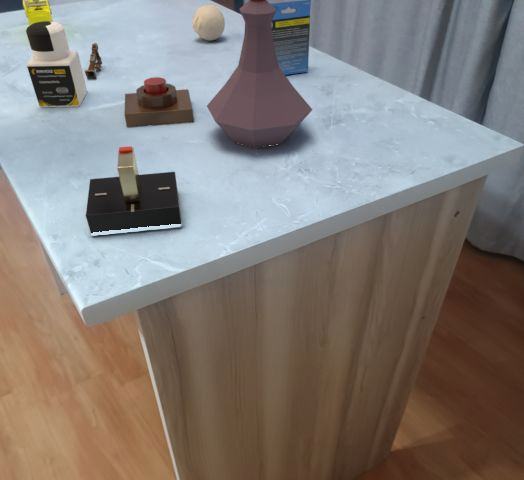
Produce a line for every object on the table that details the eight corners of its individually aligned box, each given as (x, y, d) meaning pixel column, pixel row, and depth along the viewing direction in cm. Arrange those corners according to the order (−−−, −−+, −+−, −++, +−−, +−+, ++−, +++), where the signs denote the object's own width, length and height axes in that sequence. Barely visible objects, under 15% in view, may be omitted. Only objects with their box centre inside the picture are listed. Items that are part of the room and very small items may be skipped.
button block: (127, 127, 85) (122, 102, 82) (127, 106, 91) (122, 82, 88) (193, 122, 86) (191, 97, 83) (189, 102, 92) (187, 78, 89)
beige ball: (189, 37, 119) (186, 3, 114) (219, 33, 121) (217, 0, 116) (199, 46, 115) (195, 11, 110) (229, 41, 116) (228, 7, 112)
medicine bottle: (39, 108, 91) (15, 30, 82) (49, 93, 96) (27, 18, 87) (80, 107, 91) (60, 30, 82) (88, 92, 96) (70, 17, 87)
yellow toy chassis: (30, 25, 127) (18, -16, 121) (54, 23, 128) (43, -18, 122) (33, 44, 116) (20, 0, 110) (59, 41, 118) (47, -2, 112)
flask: (217, 113, 89) (207, -29, 74) (313, 116, 87) (321, -28, 73) (198, 156, 77) (183, -1, 63) (308, 161, 76) (317, 1, 62)
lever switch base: (91, 237, 63) (85, 215, 61) (95, 199, 69) (89, 177, 67) (182, 228, 64) (178, 205, 62) (177, 191, 70) (174, 169, 68)
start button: (145, 97, 85) (143, 85, 83) (145, 89, 87) (143, 78, 86) (167, 95, 85) (166, 84, 84) (166, 87, 87) (165, 76, 86)
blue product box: (300, 66, 105) (303, -6, 96) (308, 72, 102) (312, -1, 93) (259, 72, 103) (258, -2, 94) (266, 78, 100) (266, 4, 91)
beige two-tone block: (139, 201, 63) (132, 164, 59) (124, 202, 63) (116, 165, 59) (140, 181, 66) (133, 145, 63) (125, 182, 66) (118, 146, 63)
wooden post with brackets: (105, 59, 106) (98, 39, 101) (100, 89, 103) (93, 70, 99) (96, 59, 106) (89, 39, 102) (91, 89, 103) (84, 70, 99)
